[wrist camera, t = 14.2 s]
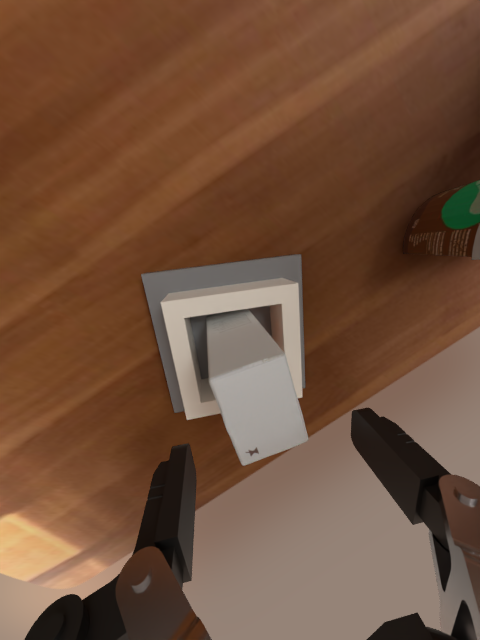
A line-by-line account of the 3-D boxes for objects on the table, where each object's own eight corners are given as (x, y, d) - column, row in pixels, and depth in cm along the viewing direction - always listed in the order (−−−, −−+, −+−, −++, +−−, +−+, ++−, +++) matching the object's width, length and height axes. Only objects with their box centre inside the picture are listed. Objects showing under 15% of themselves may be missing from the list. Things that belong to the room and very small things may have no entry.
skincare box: (261, 354, 24) (311, 444, 13) (223, 367, 24) (240, 470, 13) (245, 301, 22) (288, 352, 11) (204, 315, 22) (204, 382, 11)
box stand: (295, 254, 23) (321, 254, 18) (300, 380, 28) (322, 410, 23) (145, 273, 22) (126, 279, 16) (176, 404, 26) (169, 442, 21)
